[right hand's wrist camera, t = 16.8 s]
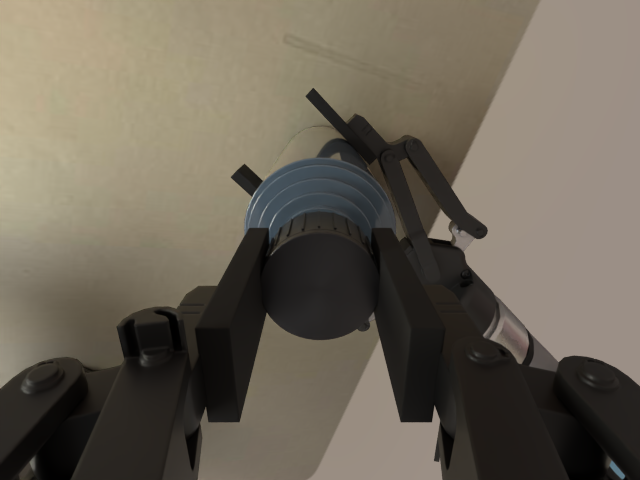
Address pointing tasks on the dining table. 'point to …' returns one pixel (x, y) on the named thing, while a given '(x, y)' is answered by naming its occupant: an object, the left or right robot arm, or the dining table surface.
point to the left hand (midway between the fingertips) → (272, 133)
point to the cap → (320, 277)
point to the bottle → (319, 185)
